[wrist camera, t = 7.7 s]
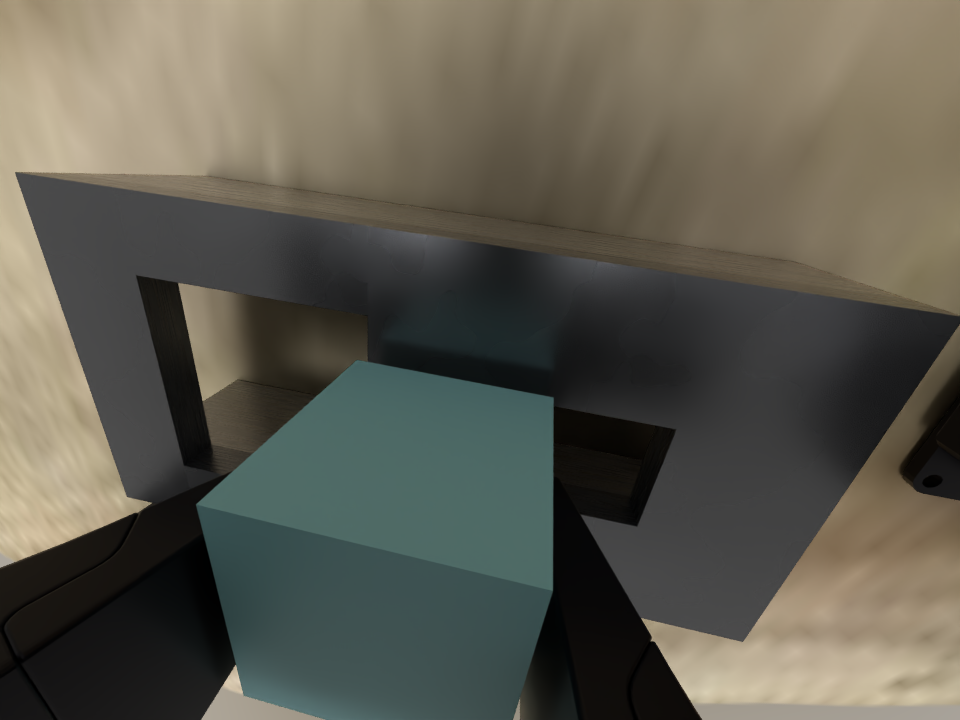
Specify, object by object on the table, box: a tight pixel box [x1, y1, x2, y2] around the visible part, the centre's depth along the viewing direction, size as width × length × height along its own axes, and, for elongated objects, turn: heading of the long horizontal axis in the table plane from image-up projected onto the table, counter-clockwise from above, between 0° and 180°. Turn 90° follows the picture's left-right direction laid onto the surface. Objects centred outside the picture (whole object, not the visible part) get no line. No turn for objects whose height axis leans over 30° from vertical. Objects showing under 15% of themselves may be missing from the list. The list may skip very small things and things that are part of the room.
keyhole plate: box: [15, 172, 960, 642], centre depth 12 cm, size 18×9×5 cm, turn 83°
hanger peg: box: [196, 360, 554, 720], centre depth 8 cm, size 4×4×8 cm
